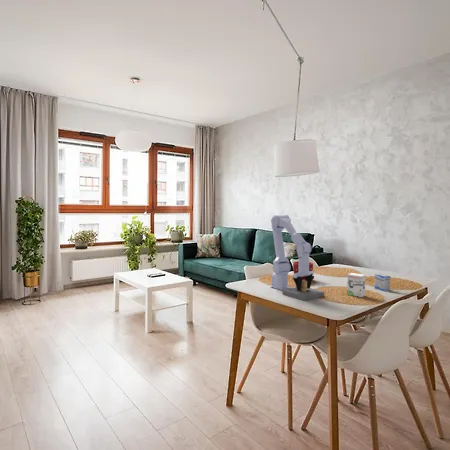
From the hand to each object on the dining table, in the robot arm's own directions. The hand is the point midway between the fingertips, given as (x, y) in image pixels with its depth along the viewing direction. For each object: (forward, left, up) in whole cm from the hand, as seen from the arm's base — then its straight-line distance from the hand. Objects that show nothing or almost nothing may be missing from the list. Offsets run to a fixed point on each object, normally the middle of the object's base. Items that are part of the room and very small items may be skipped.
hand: (303, 289), depth 192 cm
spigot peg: (0, 0, -3) cm, 3 cm away
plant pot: (-27, +30, -4) cm, 41 cm away
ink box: (+17, +24, -4) cm, 30 cm away
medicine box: (+18, +49, -4) cm, 52 cm away
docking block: (0, 0, -3) cm, 3 cm away
